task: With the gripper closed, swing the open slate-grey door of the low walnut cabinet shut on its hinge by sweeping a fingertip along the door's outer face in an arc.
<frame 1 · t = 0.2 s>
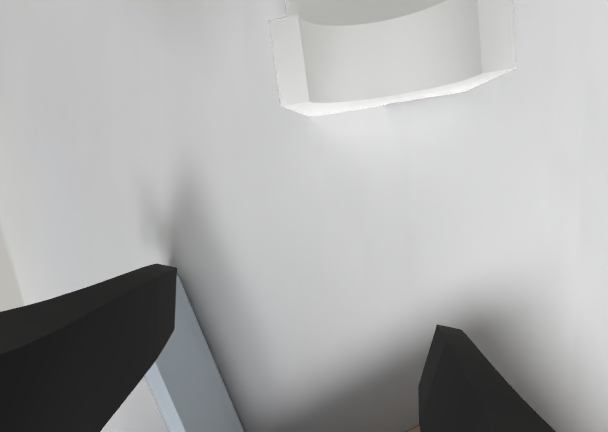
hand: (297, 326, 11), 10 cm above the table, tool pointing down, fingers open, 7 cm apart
door: (199, 421, 21), point 3 cm above the table, hinge at 75.0°
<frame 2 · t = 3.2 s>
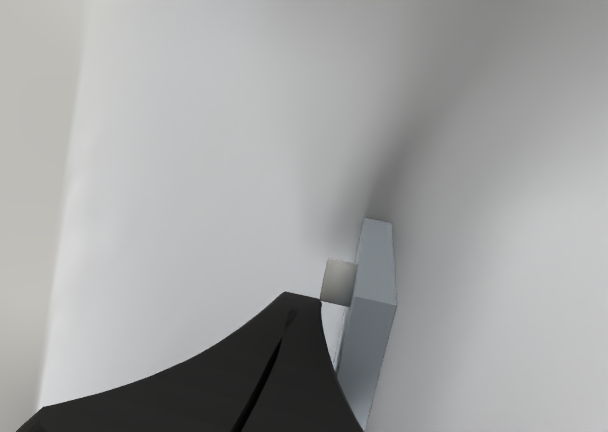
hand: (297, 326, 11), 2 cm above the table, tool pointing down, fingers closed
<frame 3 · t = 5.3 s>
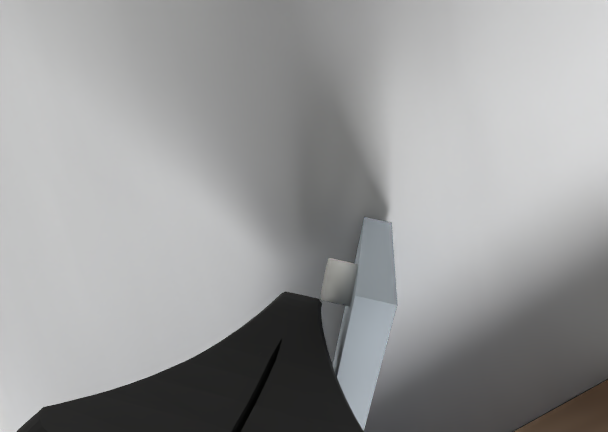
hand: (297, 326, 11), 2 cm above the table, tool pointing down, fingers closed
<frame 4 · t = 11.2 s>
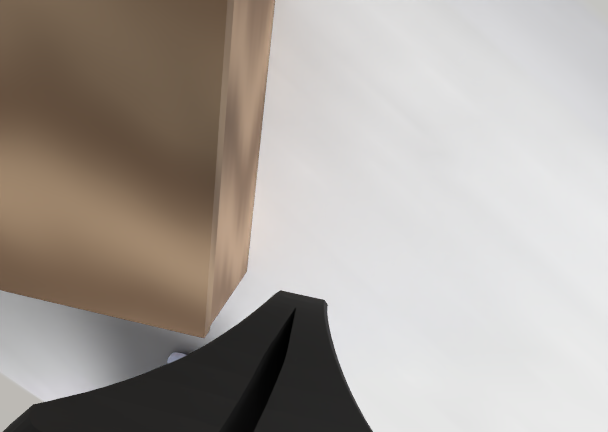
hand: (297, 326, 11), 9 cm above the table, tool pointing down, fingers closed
cabinet: (160, 122, 20), on the table
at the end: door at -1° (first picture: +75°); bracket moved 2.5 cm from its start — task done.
